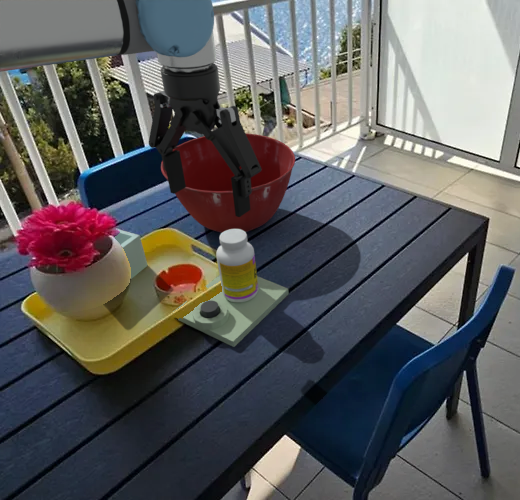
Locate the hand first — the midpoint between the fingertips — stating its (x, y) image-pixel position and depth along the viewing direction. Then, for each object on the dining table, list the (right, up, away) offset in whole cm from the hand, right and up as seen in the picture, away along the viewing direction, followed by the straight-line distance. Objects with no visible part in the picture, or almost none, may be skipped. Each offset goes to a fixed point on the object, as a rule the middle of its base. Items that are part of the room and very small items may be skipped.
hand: (209, 201), depth 80 cm
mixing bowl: (-4, -1, +38) cm, 38 cm away
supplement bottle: (+2, -16, +14) cm, 21 cm away
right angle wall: (-27, -13, +20) cm, 36 cm away
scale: (+1, -18, +13) cm, 22 cm away
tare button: (-2, -19, +8) cm, 20 cm away
